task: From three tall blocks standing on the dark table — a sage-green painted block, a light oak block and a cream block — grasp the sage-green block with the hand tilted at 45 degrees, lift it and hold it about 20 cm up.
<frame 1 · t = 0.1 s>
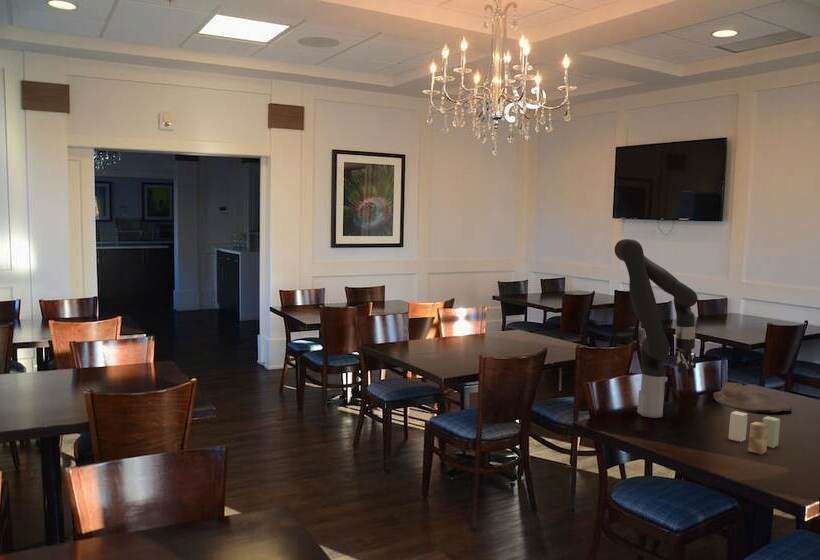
hand: (684, 375, 288), 17 cm above the table, fingers open, 8 cm apart
cream block: (736, 439, 260), on the table
oak block: (757, 451, 246), on the table
flat cap: (751, 406, 311), on the table
sage block: (769, 445, 254), on the table
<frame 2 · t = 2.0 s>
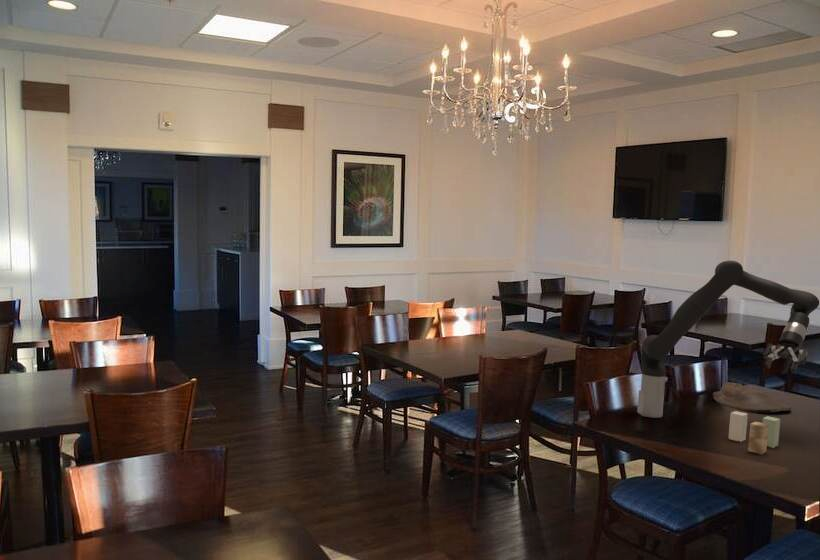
hand: (779, 369, 261), 26 cm above the table, fingers open, 8 cm apart
nothing on the table moved.
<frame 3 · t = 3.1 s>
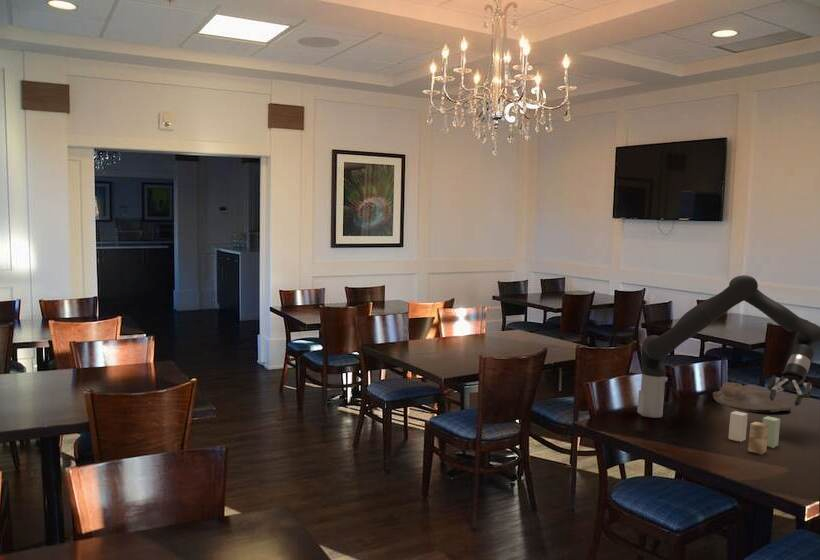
hand: (783, 402, 261), 14 cm above the table, fingers open, 8 cm apart
nothing on the table moved.
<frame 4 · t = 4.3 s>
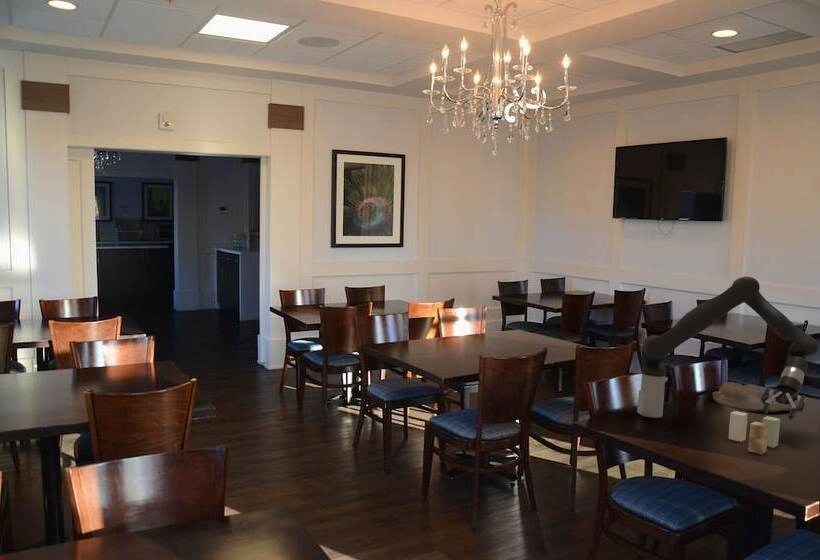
hand: (777, 415, 257), 10 cm above the table, fingers open, 8 cm apart
nothing on the table moved.
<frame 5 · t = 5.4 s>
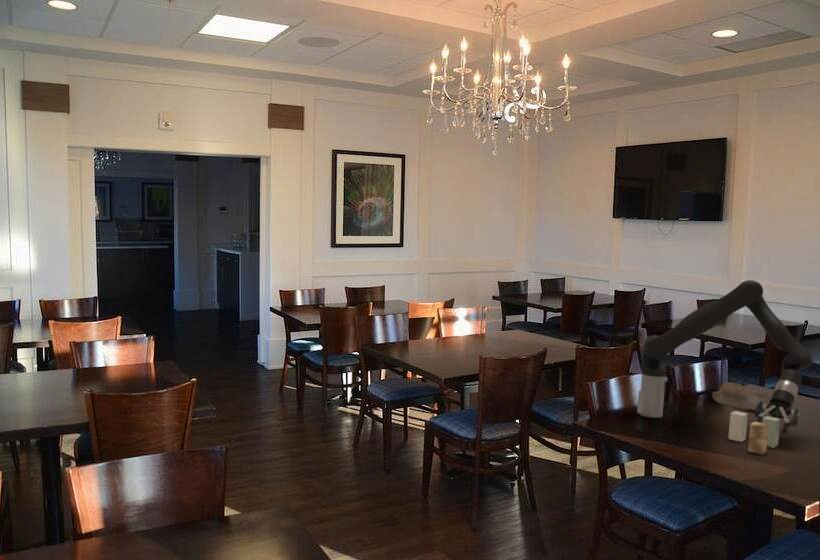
hand: (770, 430, 254), 6 cm above the table, fingers open, 8 cm apart
nothing on the table moved.
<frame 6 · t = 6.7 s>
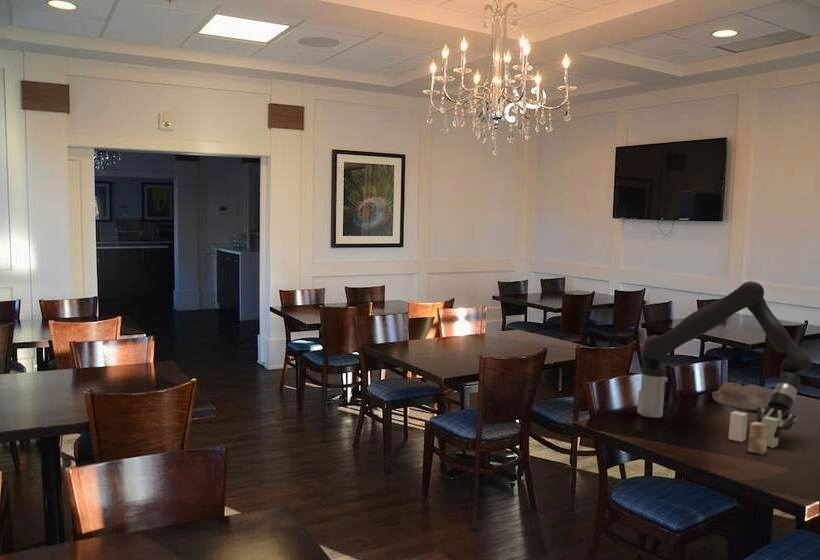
hand: (768, 435, 253), 4 cm above the table, fingers closed on sage block, 4 cm apart
sage block: (769, 445, 254), on the table, touching gripper
everything else where it was.
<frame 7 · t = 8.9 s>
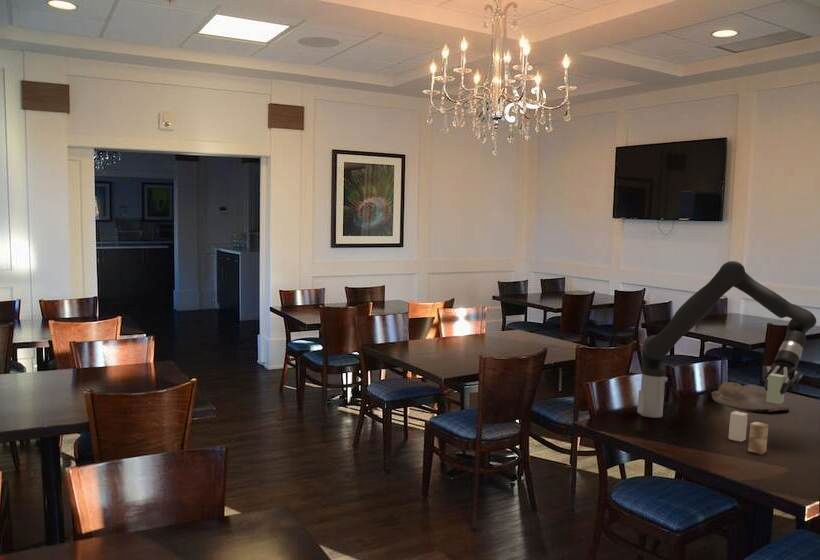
hand: (774, 391, 253), 20 cm above the table, fingers closed on sage block, 4 cm apart
sage block: (774, 401, 255), point 16 cm above the table, touching gripper
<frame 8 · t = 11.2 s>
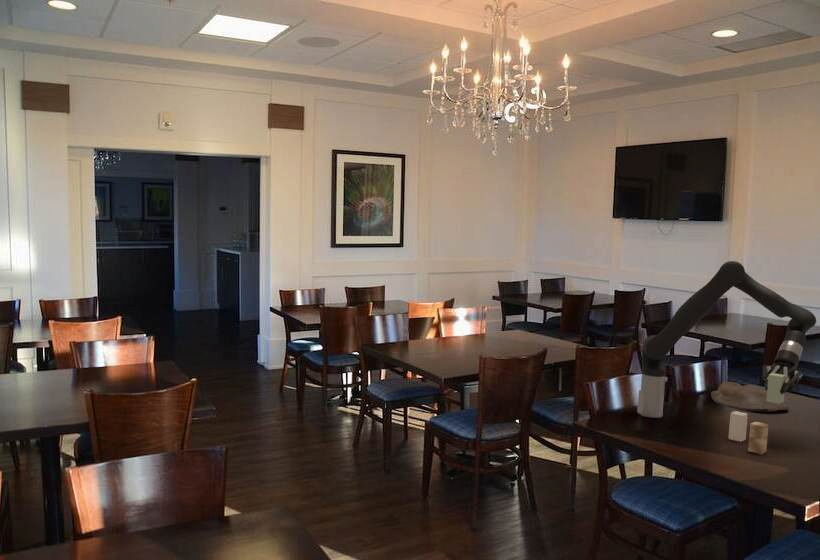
hand: (774, 391, 253), 20 cm above the table, fingers closed on sage block, 4 cm apart
sage block: (775, 401, 255), point 16 cm above the table, touching gripper
at the end: the gripper is holding sage block; sage block point 15.9 cm above the table; oak block moved 0.0 cm from its start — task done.
